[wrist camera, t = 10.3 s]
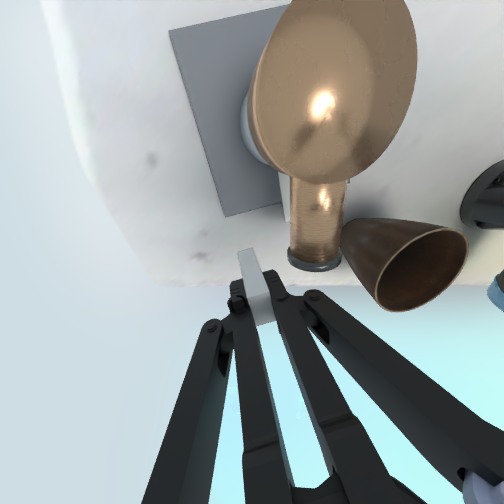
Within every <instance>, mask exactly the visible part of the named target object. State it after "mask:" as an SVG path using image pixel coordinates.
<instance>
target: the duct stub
mask: <svg viewBox="0 0 504 504" xmlns="http://www.w3.org/2000/svg"><path fill="white" fill-rule="evenodd" d="M289 5H290V4H288V5H283V6H279V7H274V8H269V9H265V10H260V11H256V12H251V13H247V14H242V15H238V16H233V17H228V18H224V19H219V20H215V21H210V22H206V23H201V24H197V25H192V26H187V27H183V28H178V29H174V30H169V35H170V38H171V41H172V44H173V48H174V51H175V54H176V57H177V61H178V64H179V67H180V71H181V74H182V77H183V80H184V84H185V87H186V90H187V94H188V97H189V100H190V103H191V107H192V110H193V113H194V116H195V120H196V123H197V126H198V130H199V133H200V136H201V139H202V143H203V146H204V149H205V153H206V156H207V159H208V162H209V166H210V169H211V172H212V176H213V179H214V182H215V185H216V189H217V192H218V195H219V198H220V202H221V205H222V208H223V212H224V215H225V217H229V216H233V215H236V214H240V213H243V212H247V211H251V210H254V209H258V208H261V207H265V206H269V205H272V204H276V203H279V202H282V203H283V209H284V216H285V222H288V221H290V176H288V175H285V174H283V173H280V172H278V171H277V170H275V169H273V168H272V167H271V166H270V165H268V164H267V162H266V161H265V160H264V159H263V158H262V157H261V155H260V154H259V152H258V151H257V149H256V147H255V145H254V143H253V140H252V138H251V134H250V131H249V127H248V120H247V95H248V90H249V84H250V81H251V77H252V74H253V72H254V69H255V67H256V64H257V62H258V60H259V58H260V56H261V54H262V52H263V50H264V49H265V47H266V45H267V43H268V41H269V39H270V37H271V35H272V33H273V31H274V29H275V27H276V25H277V23H278V22H279V20H280V18H281V16H282V14H283V13H284V12H285V10H286V9H287V7H288V6H289ZM348 183H350V179H348V181H347V184H348Z"/></svg>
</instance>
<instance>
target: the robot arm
mask: <svg viewBox="0 0 504 504" xmlns="http://www.w3.org/2000/svg"><path fill="white" fill-rule="evenodd" d="M461 219H462V221H463V223H464V224H466V225H468V226H471V227H474V228H478V229H490V230H504V161H501V162H499V163H497V164H495V165H493V166H492V167H490V168H489V169H488V170H486V171H485V172H484V173H483V174H482V175H481V176H480V177H479V178H478V179H477V180H476V181H475V182H474V184H473V185H472V186H471V188H470V189H469V191H468V192H467V194H466V196H465V198H464V200H463V203H462V206H461ZM237 254H238V259H239V263H240V268H241V273H242V277H243V279H239V280H236V281H232V282H231V284H230V294H231V297H230V298H229V300H228V302H227V304H228V307H229V310H230V314H229V315H228V316H227V317H226V318H224V319H222V320H221V321H220V320H218V319H211V320H209V321H207V322H206V323H205V324H204V325H203V327H202V329H201V332H200V335H199V337H198V340H197V343H196V346H195V349H194V352H193V355H192V358H191V361H190V364H189V366H188V369H187V372H186V375H185V378H184V381H183V384H182V387H181V390H180V393H179V396H178V399H177V401H176V404H175V407H174V410H173V413H172V416H171V419H170V422H169V424H168V427H167V430H166V433H165V436H164V439H163V442H162V445H161V448H160V451H159V454H158V456H157V459H156V462H155V465H154V468H153V471H152V474H151V477H150V480H149V482H148V485H147V488H146V491H145V494H144V497H143V500H142V503H141V504H208V502H209V495H210V489H211V483H212V477H213V471H214V465H215V459H216V452H217V446H218V440H219V434H220V427H221V421H222V415H223V409H224V403H225V396H226V390H227V384H228V377H229V371H230V365H231V359H232V352H233V349H234V351H235V361H236V372H237V381H238V392H239V402H240V413H241V422H242V433H243V443H244V451H243V455H242V466H243V467H242V468H243V480H244V492H245V504H427V503H426V502H425V501H423V500H422V499H421V498H420V497H418V496H417V495H416V494H415V493H414V492H412V491H411V490H410V489H409V488H408V487H406V486H405V485H404V484H403V483H401V482H400V481H398V480H397V479H395V478H394V477H392V476H390V475H389V473H388V471H387V469H386V467H385V466H384V464H383V462H382V460H381V458H380V456H379V454H378V453H377V451H376V449H375V447H374V445H373V443H372V441H371V439H370V438H369V436H368V434H367V432H366V430H365V429H364V427H363V425H362V423H361V422H360V421H359V419H358V418H357V417H356V416H355V415H354V414H353V413H352V412H351V410H350V408H349V406H348V404H347V402H346V400H345V398H344V397H343V395H342V393H341V391H340V389H339V387H338V385H337V383H336V381H335V379H334V377H333V375H332V374H331V372H330V370H329V368H328V366H327V364H326V362H325V360H324V358H323V356H322V355H321V352H320V351H319V349H318V347H317V345H316V343H315V341H314V339H313V337H312V335H311V333H310V331H309V330H308V328H309V329H310V330H311V332H312V333H313V334H314V335H315V336H316V337H317V338H318V339H319V340H320V342H321V343H322V344H323V345H324V346H325V347H326V348H327V349H328V351H329V352H330V353H331V354H332V355H333V356H334V357H335V358H336V359H337V361H338V362H339V363H340V364H341V365H342V366H343V367H344V368H345V370H346V371H347V372H348V373H349V374H350V375H351V376H352V377H353V378H354V379H355V381H356V382H357V383H358V384H359V385H360V386H361V387H362V389H363V390H364V391H365V392H366V393H367V394H368V395H369V396H370V397H371V399H372V400H373V401H374V402H375V403H376V404H377V405H378V406H379V408H380V409H381V410H382V411H383V412H384V413H385V414H386V415H387V416H388V418H389V419H390V420H391V421H392V422H393V423H394V424H395V425H396V426H397V427H398V429H399V430H400V431H401V432H402V433H403V434H404V435H405V437H406V438H407V439H408V440H409V441H410V442H411V443H412V444H413V446H414V447H415V448H416V449H417V450H418V451H419V452H420V453H421V454H422V455H423V456H424V457H425V459H426V460H427V461H428V462H429V463H430V464H431V465H432V466H433V467H434V468H435V469H436V470H437V471H438V472H439V473H440V474H441V475H442V476H444V477H445V478H446V479H447V480H448V481H449V482H450V483H451V484H452V485H453V486H454V487H456V488H457V489H458V490H459V491H460V492H462V493H463V499H464V502H465V504H504V431H502V430H501V429H499V428H497V427H495V426H493V425H491V424H490V423H488V422H486V421H484V420H483V419H481V418H480V417H479V416H478V415H476V414H475V413H474V412H472V411H471V410H470V409H469V408H467V407H466V406H465V405H464V404H463V403H461V402H460V401H458V400H457V399H456V398H455V397H454V396H452V395H451V394H450V393H449V392H447V391H446V390H445V389H443V388H442V387H441V386H440V385H439V384H437V383H436V382H435V381H434V380H432V379H431V378H430V377H428V376H427V375H426V374H425V373H423V372H422V371H421V370H420V369H418V368H417V367H416V366H415V365H413V364H412V363H411V362H410V361H408V360H407V359H406V358H404V357H403V356H402V355H401V354H400V353H398V352H397V351H396V350H394V349H393V348H392V347H391V346H389V345H388V344H387V343H385V342H384V341H383V340H382V339H381V338H379V337H378V336H377V335H376V334H374V333H373V332H372V331H371V330H369V329H368V328H367V327H365V326H364V325H363V324H362V323H360V322H359V321H358V320H357V319H355V318H354V317H353V316H351V315H350V314H349V313H348V312H346V311H345V310H344V309H343V308H342V307H340V306H339V305H338V304H336V303H335V302H334V301H333V300H331V299H330V298H329V297H328V296H326V295H325V294H324V293H323V292H321V291H319V290H316V289H314V290H308V291H306V292H305V294H304V295H303V296H293V295H291V294H289V293H288V292H287V291H286V289H285V287H284V285H283V283H282V281H281V279H280V277H279V275H278V273H277V272H276V271H274V270H273V269H272V270H269V271H265V272H262V271H261V269H260V266H259V263H258V261H257V258H256V256H255V253H254V250H253V248H249V249H246V250H242V251H238V252H237ZM487 295H488V297H489V299H490V300H491V301H492V303H493V304H494V305H496V306H497V307H498V308H499V309H500V310H502V311H503V312H504V270H503V271H502V272H501V273H500V274H497V275H496V276H495V278H494V281H493V282H492V284H491V285H490V286H489V287H488V290H487ZM273 321H277V325H278V329H279V333H280V334H281V337H282V340H283V342H284V345H285V348H286V351H287V354H288V356H289V359H290V362H291V365H292V368H293V371H294V374H295V376H296V379H297V382H298V385H299V388H300V390H301V393H302V396H303V399H304V402H305V405H306V407H307V410H308V413H309V416H310V418H311V422H312V424H313V427H314V430H315V433H316V436H317V439H318V441H319V444H320V447H321V450H322V453H323V457H324V460H325V463H326V466H327V470H328V472H329V475H330V477H329V478H328V479H327V480H325V481H324V482H323V483H322V484H321V485H320V486H319V487H317V488H315V489H314V488H313V489H312V488H300V487H295V484H294V480H293V476H292V473H291V469H290V465H289V461H288V457H287V453H286V449H285V445H284V440H283V436H282V432H281V428H280V424H279V420H278V415H277V411H276V407H275V403H274V398H273V394H272V390H271V386H270V382H269V377H268V373H267V369H266V365H265V361H264V356H263V352H262V348H261V344H260V339H259V335H258V331H257V329H256V326H259V325H263V324H266V323H269V322H273Z"/></svg>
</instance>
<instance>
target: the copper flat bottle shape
mask: <svg viewBox="0 0 504 504" xmlns="http://www.w3.org/2000/svg"><path fill="white" fill-rule="evenodd" d="M416 70H417V43H416V34H415V30H414V25H413V21H412V18H411V15H410V12H409V10H408V8H407V6H406V4H405V2H404V0H293V1H292V2H291V3H290V5H289V6H288V7H287V9H286V10H285V12H284V13H283V14H282V16H281V18H280V20H279V22H278V23H277V25H276V27H275V29H274V31H273V33H272V35H271V37H270V39H269V41H268V43H267V45H266V47H265V49H264V50H263V52H262V54H261V56H260V58H259V60H258V62H257V64H256V67H255V69H254V72H253V74H252V77H251V81H250V84H249V90H248V95H247V120H248V127H249V131H250V134H251V138H252V140H253V143H254V145H255V147H256V149H257V151H258V152H259V154H260V155H261V157H262V158H263V159H264V160H265V161H266V162H267V164H268V165H270V166H271V167H272V168H273V169H275V170H277V171H278V172H280V173H283V174H285V175H288V176H290V247H289V248H288V250H287V257H288V261H289V263H290V264H291V265H292V266H294V267H296V268H298V269H300V270H304V271H309V272H325V271H329V270H332V269H334V268H336V267H338V266H339V265H340V263H341V258H342V251H341V249H340V248H339V246H340V238H341V230H342V222H343V214H344V205H345V197H346V189H347V181H348V179H350V178H352V177H354V176H356V175H358V174H359V173H361V172H362V171H364V170H365V169H366V168H368V167H369V166H370V165H371V164H372V163H374V162H375V161H376V160H377V159H378V158H379V157H380V156H381V154H382V153H383V152H384V151H385V150H386V148H387V147H388V146H389V144H390V143H391V141H392V140H393V138H394V137H395V135H396V133H397V132H398V130H399V128H400V126H401V124H402V122H403V120H404V118H405V115H406V113H407V110H408V107H409V104H410V101H411V97H412V94H413V90H414V85H415V79H416Z"/></svg>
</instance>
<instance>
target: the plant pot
mask: <svg viewBox="0 0 504 504" xmlns="http://www.w3.org/2000/svg"><path fill="white" fill-rule="evenodd" d="M340 247H341V249H342V252H343V254H344V256H345V258H346V260H347V262H348V264H349V265H350V267H351V269H352V270H353V272H354V273H355V275H356V276H357V278H358V279H359V281H360V282H361V283H362V285H363V286H364V287H365V288H366V290H367V291H368V292H369V294H370V295H371V296H372V297H373V299H374V300H375V301H376V302H377V303H378V305H379V306H380V307H382V308H383V309H384V310H386V311H390V312H405V311H409V310H412V309H415V308H418V307H420V306H422V305H424V304H426V303H428V302H429V301H431V300H433V299H434V298H436V297H437V296H438V295H440V294H441V293H442V292H443V291H444V290H445V289H447V288H448V287H449V286H450V285H451V284H452V282H453V281H454V280H455V279H456V278H457V276H458V275H459V273H460V272H461V270H462V268H463V266H464V265H465V262H466V260H467V257H468V251H469V244H468V240H467V238H466V236H465V235H464V234H463V233H462V232H461V231H459V230H456V229H452V228H448V227H443V226H438V225H432V224H427V223H421V222H415V221H407V220H399V219H387V218H361V219H354V220H352V221H350V222H348V223H347V224H346V225H345V226H344V227H343V228H342V230H341V238H340Z"/></svg>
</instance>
